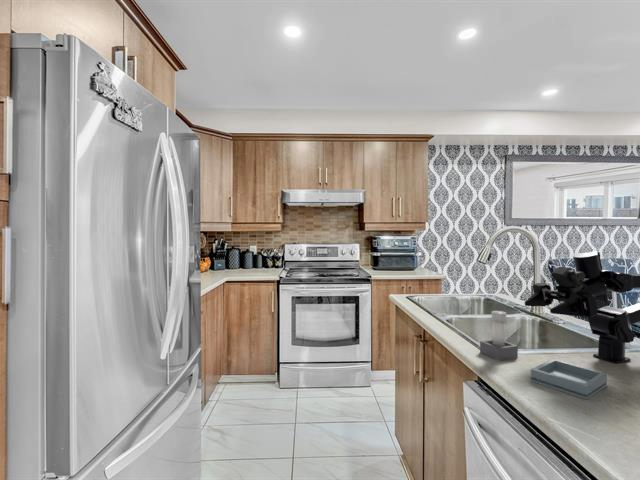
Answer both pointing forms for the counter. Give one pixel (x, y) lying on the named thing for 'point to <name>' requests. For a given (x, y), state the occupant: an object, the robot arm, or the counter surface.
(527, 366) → the counter surface
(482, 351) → the light bulb socket
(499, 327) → the white rounded column
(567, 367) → the parts tray
